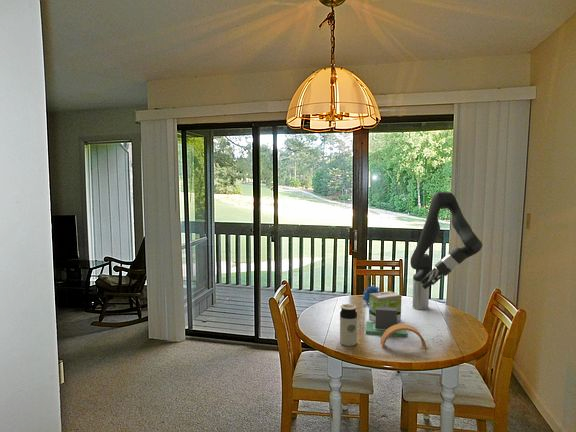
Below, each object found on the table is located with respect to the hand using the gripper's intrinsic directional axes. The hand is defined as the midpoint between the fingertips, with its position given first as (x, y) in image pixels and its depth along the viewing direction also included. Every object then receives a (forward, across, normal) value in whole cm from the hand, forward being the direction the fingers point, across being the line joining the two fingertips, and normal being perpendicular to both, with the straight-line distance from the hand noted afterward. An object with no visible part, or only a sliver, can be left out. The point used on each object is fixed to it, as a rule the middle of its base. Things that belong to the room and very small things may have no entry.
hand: (422, 285), depth 198 cm
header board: (+29, +7, +4) cm, 30 cm away
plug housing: (+28, +7, +2) cm, 29 cm away
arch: (+24, +25, +9) cm, 36 cm away
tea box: (+30, -9, +4) cm, 31 cm away
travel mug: (+42, +27, -9) cm, 51 cm away
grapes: (+36, -38, -2) cm, 52 cm away
